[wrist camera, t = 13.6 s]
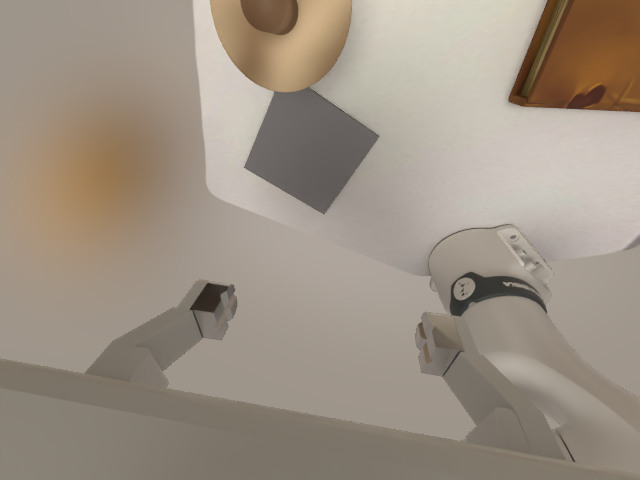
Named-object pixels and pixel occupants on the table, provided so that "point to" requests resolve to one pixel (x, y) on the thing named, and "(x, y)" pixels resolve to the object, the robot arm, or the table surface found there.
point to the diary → (583, 57)
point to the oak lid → (283, 38)
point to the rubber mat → (308, 147)
